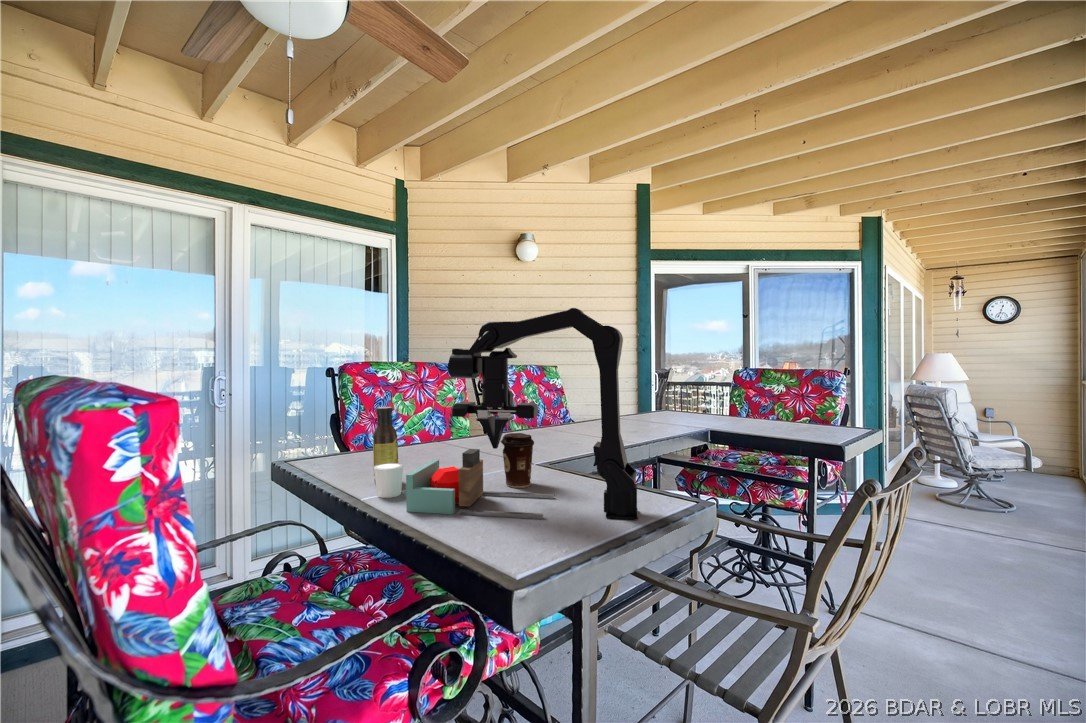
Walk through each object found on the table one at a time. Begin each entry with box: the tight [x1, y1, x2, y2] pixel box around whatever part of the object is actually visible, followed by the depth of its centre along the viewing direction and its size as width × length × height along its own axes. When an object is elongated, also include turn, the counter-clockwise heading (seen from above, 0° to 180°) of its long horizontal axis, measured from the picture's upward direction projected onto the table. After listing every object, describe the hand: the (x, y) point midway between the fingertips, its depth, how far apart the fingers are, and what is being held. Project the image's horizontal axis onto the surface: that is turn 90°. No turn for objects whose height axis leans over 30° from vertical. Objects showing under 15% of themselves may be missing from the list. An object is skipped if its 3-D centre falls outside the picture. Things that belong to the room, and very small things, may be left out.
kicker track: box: [458, 490, 555, 520], centre depth 112 cm, size 18×15×1 cm
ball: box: [430, 466, 460, 505], centre depth 115 cm, size 8×8×8 cm
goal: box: [405, 459, 456, 515], centre depth 114 cm, size 10×15×8 cm
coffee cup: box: [499, 432, 535, 489], centre depth 129 cm, size 9×8×13 cm
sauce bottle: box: [372, 406, 399, 484], centre depth 132 cm, size 6×6×20 cm
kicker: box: [458, 448, 484, 507], centre depth 113 cm, size 2×10×11 cm, turn 170°
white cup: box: [373, 462, 404, 499], centre depth 121 cm, size 7×7×7 cm
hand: (495, 448), depth 112 cm, fingers closed
